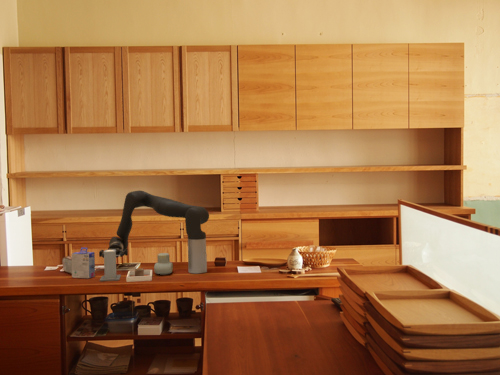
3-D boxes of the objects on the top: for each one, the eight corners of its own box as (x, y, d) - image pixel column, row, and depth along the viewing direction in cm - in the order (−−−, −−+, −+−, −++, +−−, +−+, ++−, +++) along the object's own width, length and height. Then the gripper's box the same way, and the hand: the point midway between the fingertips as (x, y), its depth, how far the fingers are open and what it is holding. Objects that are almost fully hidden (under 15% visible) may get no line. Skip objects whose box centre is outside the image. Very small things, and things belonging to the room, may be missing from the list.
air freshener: (170, 276, 226) (170, 256, 226) (153, 276, 226) (153, 256, 226) (173, 270, 237) (173, 251, 237) (157, 271, 237) (157, 252, 237)
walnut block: (143, 278, 223) (143, 268, 223) (143, 280, 219) (143, 270, 219) (135, 278, 222) (135, 268, 222) (134, 280, 218) (134, 270, 218)
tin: (80, 275, 231) (80, 258, 231) (74, 276, 229) (74, 259, 228) (67, 270, 241) (66, 254, 241) (61, 271, 239) (60, 255, 239)
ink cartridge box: (95, 276, 228) (95, 247, 228) (89, 278, 223) (88, 249, 222) (78, 275, 230) (77, 246, 230) (71, 278, 225) (70, 248, 224)
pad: (121, 275, 228) (120, 274, 228) (119, 280, 219) (119, 279, 219) (102, 276, 226) (102, 275, 226) (99, 281, 217) (99, 280, 217)
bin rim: (152, 273, 231) (152, 269, 231) (151, 280, 218) (151, 275, 218) (128, 275, 229) (128, 270, 229) (126, 281, 216) (126, 277, 216)
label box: (116, 275, 226) (115, 249, 225) (115, 278, 221) (114, 251, 220) (105, 276, 225) (105, 249, 224) (104, 278, 220) (103, 251, 219)
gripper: (101, 243, 247) (97, 248, 231) (129, 242, 250) (126, 247, 234) (102, 256, 248) (98, 263, 232) (129, 255, 250) (126, 262, 235)
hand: (112, 255), depth 233 cm, fingers open, 8 cm apart
